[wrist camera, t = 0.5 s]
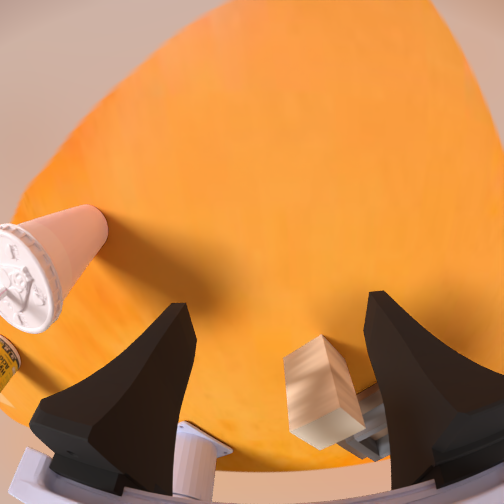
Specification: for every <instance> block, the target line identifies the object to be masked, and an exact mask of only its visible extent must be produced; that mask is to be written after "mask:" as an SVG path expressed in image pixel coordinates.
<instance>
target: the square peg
mask: <svg viewBox="0 0 504 504" xmlns="http://www.w3.org/2000/svg"><path fill="white" fill-rule="evenodd" d="M283 359H284V370H285V382H286V393H287V405H288V417H289V430H290V432H291V433H292V434H294V435H295V436H297V437H299V438H300V439H302V440H304V441H305V442H307V443H308V444H310V445H312V446H313V447H315V448H317V449H319V450H322V449H324V448H326V447H328V446H331V445H333V444H335V443H337V442H339V441H342V440H344V439H346V438H348V437H350V436H352V435H354V434H356V433H358V432H360V431H362V430H364V429H366V427H365V423H364V420H363V416H362V413H361V410H360V406H359V403H358V400H357V396H356V393H355V390H354V386H353V383H352V380H351V377H350V373H349V370H348V367H347V364H346V361H345V359H344V358H343V357H342V355H341V354H340V353H339V352H338V351H337V350H336V349H335V348H334V347H333V346H332V345H331V344H330V343H329V342H328V340H327V339H326V338H325V337H324V336H323V335H322V334H321V335H319V336H318V337H316V338H315V339H313V340H311V341H310V342H308V343H307V344H305V345H303V346H302V347H300V348H299V349H297V350H295V351H294V352H292V353H291V354H289V355H287V356H286V357H284V358H283Z"/></svg>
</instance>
